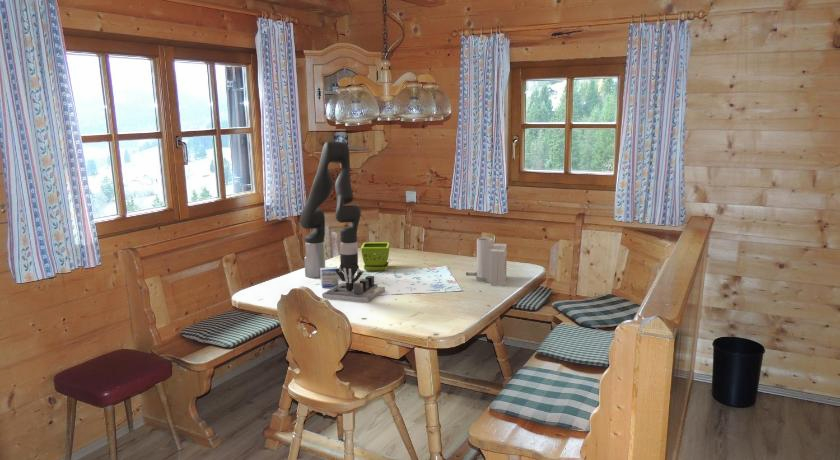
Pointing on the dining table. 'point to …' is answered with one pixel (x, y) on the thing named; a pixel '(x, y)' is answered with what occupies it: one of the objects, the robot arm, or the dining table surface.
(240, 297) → the dining table surface
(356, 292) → the breaker
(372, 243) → the flower pot
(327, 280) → the medicine box
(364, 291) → the grey peg board
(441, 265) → the dining table surface
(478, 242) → the light grey tall pieces
